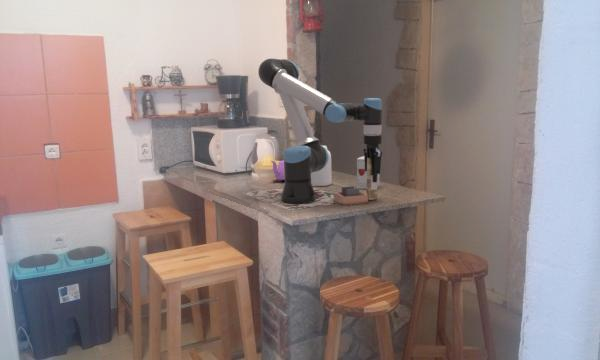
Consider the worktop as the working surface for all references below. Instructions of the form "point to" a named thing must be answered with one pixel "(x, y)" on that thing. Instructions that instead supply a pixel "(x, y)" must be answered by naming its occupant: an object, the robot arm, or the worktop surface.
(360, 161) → the supplement box
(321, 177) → the can
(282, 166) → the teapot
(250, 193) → the worktop surface
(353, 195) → the square copper tray
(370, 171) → the bar
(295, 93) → the robot arm
